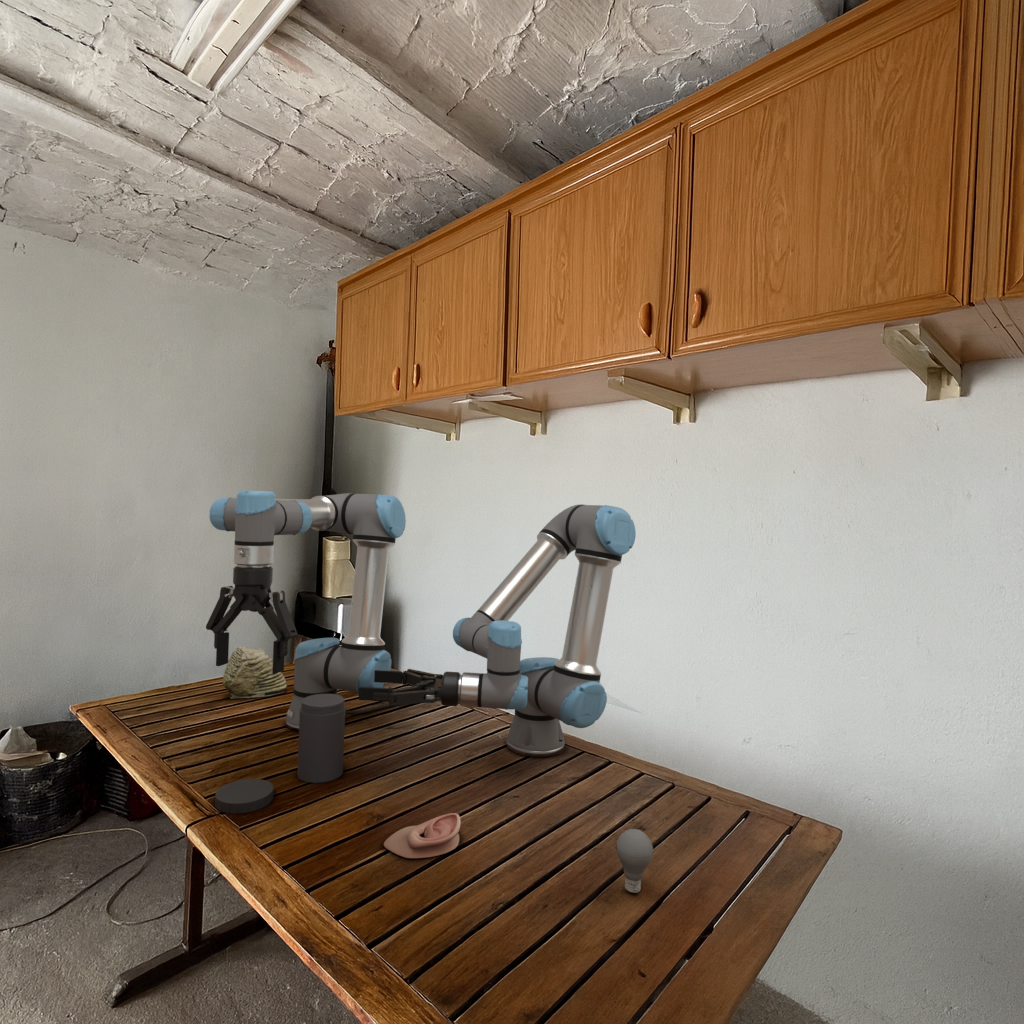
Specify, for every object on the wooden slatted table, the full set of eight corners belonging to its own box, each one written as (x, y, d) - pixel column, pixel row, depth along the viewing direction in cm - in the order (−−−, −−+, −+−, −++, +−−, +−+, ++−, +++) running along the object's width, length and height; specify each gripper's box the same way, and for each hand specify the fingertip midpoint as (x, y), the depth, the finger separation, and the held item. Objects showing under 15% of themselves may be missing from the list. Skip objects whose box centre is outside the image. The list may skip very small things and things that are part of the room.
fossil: (218, 695, 195) (220, 647, 195) (278, 685, 208) (279, 640, 207) (228, 703, 189) (230, 653, 188) (289, 692, 201) (290, 645, 201)
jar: (351, 773, 146) (354, 700, 145) (312, 787, 138) (315, 710, 138) (327, 760, 152) (329, 690, 152) (288, 772, 145) (291, 699, 144)
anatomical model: (377, 831, 113) (401, 802, 124) (376, 853, 113) (400, 822, 124) (448, 842, 110) (466, 811, 122) (447, 865, 111) (465, 832, 122)
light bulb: (610, 879, 108) (613, 822, 108) (644, 879, 109) (647, 822, 109) (619, 902, 102) (622, 840, 102) (655, 901, 103) (658, 840, 103)
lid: (282, 789, 136) (282, 780, 136) (258, 815, 125) (259, 805, 125) (231, 786, 137) (232, 777, 137) (203, 811, 125) (204, 801, 125)
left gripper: (189, 562, 130) (185, 665, 130) (295, 571, 123) (291, 680, 123) (215, 559, 137) (212, 657, 137) (317, 568, 130) (313, 670, 131)
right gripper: (452, 725, 131) (351, 719, 132) (465, 689, 156) (379, 684, 157) (453, 689, 131) (352, 683, 132) (466, 659, 156) (381, 654, 157)
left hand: (249, 668), depth 130 cm, fingers open, 13 cm apart
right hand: (367, 684), depth 144 cm, fingers open, 13 cm apart
